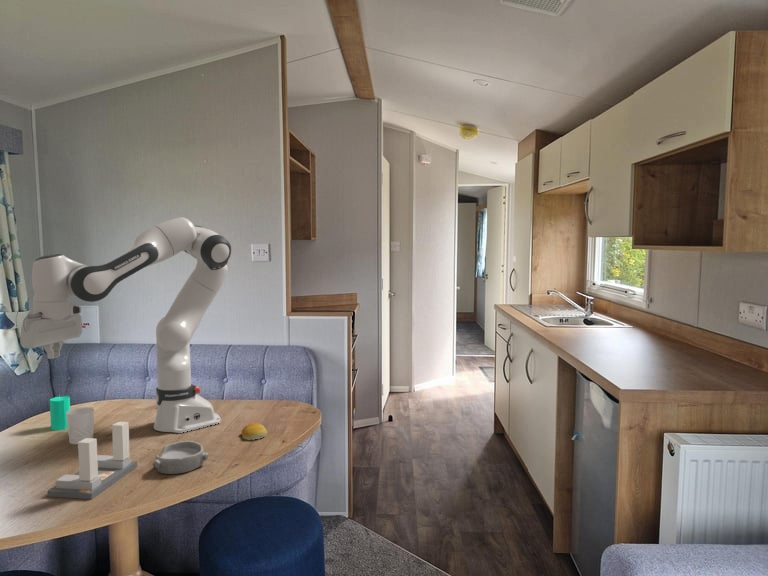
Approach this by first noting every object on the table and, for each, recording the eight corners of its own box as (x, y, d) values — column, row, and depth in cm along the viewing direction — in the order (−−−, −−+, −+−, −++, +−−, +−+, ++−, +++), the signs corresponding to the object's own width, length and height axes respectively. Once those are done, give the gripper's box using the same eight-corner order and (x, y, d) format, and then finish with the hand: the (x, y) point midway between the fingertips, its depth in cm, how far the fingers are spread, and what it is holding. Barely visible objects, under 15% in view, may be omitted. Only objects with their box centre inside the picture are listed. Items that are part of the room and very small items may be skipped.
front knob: (79, 480, 135) (78, 442, 134) (87, 475, 138) (85, 438, 137) (90, 480, 134) (89, 442, 133) (98, 475, 137) (96, 438, 136)
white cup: (64, 441, 171) (62, 411, 170) (90, 434, 177) (89, 405, 176) (71, 447, 166) (70, 416, 165) (98, 440, 172) (97, 410, 171)
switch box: (47, 496, 134) (47, 483, 133) (98, 464, 154) (98, 452, 153) (91, 499, 132) (91, 485, 132) (137, 466, 152) (136, 454, 152)
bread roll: (243, 442, 172) (243, 430, 172) (240, 433, 180) (240, 422, 180) (268, 439, 175) (268, 427, 175) (265, 430, 183) (265, 419, 183)
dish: (154, 479, 144) (154, 462, 144) (154, 460, 157) (154, 444, 157) (209, 470, 150) (209, 454, 150) (205, 453, 163) (205, 437, 162)
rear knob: (113, 459, 147) (112, 425, 147) (119, 455, 150) (118, 421, 150) (123, 460, 147) (122, 425, 146) (129, 456, 150) (128, 422, 149)
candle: (74, 424, 186) (73, 391, 185) (63, 430, 180) (61, 396, 179) (59, 424, 187) (57, 391, 186) (46, 430, 181) (45, 396, 180)
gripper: (34, 315, 141) (36, 366, 142) (85, 306, 161) (87, 351, 162) (12, 315, 142) (15, 365, 143) (66, 306, 162) (68, 350, 163)
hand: (53, 357), depth 153 cm, fingers closed
